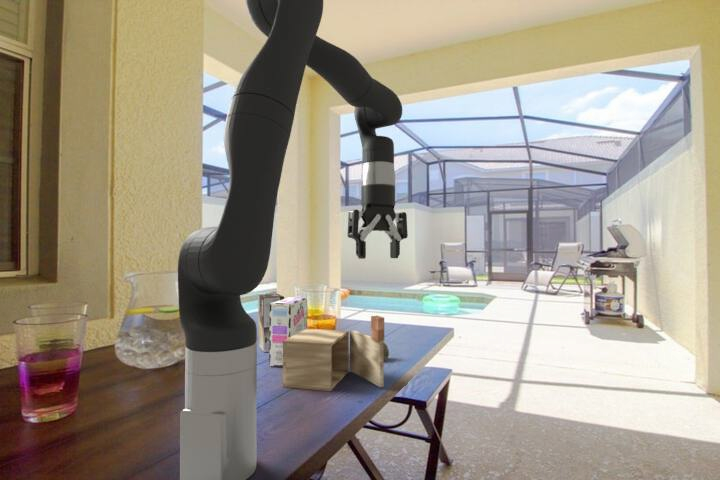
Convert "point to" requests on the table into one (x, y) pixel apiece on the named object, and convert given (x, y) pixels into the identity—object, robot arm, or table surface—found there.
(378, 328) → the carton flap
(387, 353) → the lime
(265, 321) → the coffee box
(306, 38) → the robot arm
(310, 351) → the carton
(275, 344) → the candy box
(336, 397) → the table surface
